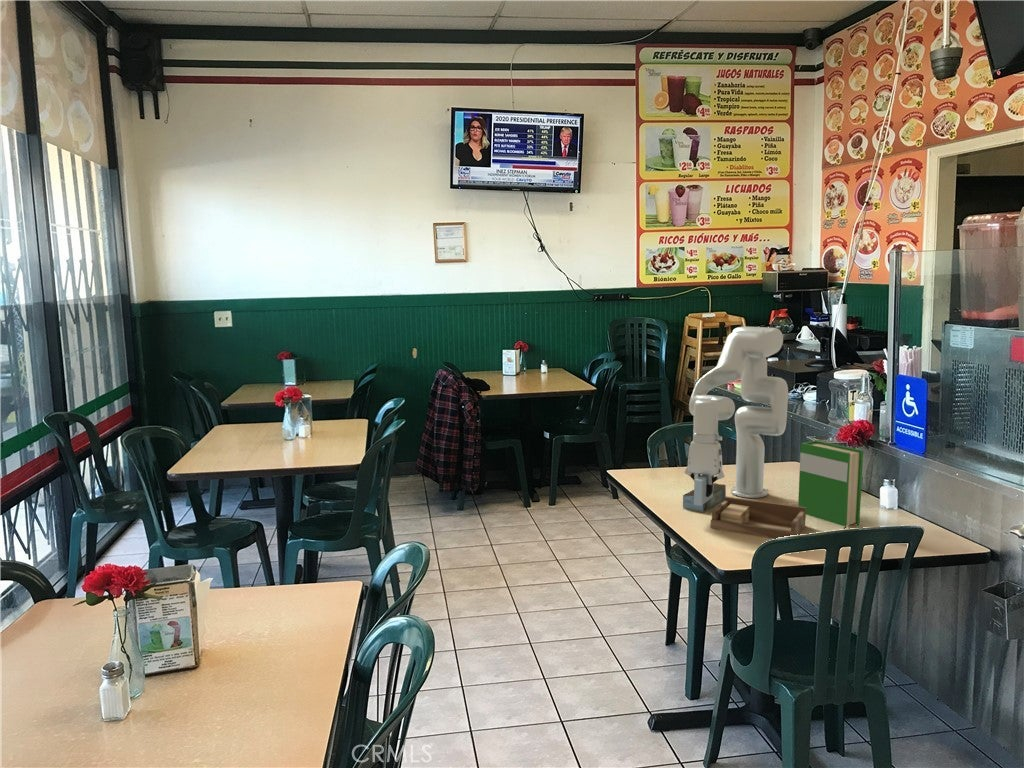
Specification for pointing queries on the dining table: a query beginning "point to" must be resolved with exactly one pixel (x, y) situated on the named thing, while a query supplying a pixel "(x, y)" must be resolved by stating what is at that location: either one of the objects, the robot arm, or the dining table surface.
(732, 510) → the offcut
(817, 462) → the hardback book
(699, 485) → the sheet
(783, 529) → the tray
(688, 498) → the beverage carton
